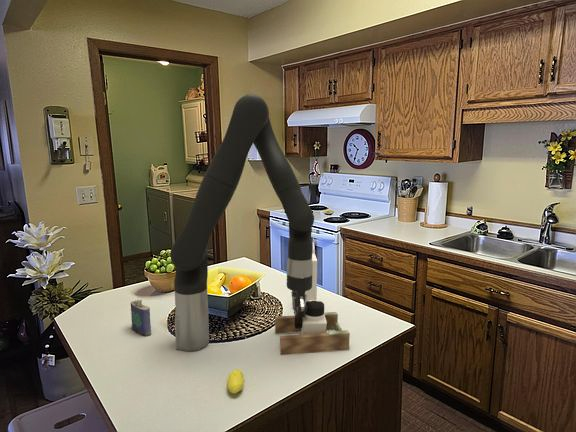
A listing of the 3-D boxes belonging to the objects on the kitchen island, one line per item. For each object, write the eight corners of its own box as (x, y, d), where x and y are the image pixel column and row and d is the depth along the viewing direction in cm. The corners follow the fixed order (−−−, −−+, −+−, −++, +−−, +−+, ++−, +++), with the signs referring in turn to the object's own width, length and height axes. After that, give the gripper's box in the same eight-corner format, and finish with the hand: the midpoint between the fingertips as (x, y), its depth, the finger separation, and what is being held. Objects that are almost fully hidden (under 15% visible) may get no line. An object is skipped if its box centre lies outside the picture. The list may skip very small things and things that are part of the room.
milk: (316, 311, 138) (318, 251, 134) (300, 313, 136) (301, 253, 132) (310, 304, 144) (312, 247, 139) (295, 306, 142) (296, 248, 138)
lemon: (246, 378, 99) (246, 364, 98) (241, 399, 91) (241, 384, 91) (230, 378, 99) (229, 364, 99) (224, 398, 92) (223, 383, 91)
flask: (153, 334, 121) (150, 302, 119) (144, 338, 119) (142, 305, 117) (137, 325, 127) (135, 294, 125) (129, 328, 125) (126, 297, 123)
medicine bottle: (326, 345, 115) (327, 307, 113) (302, 345, 115) (303, 307, 113) (323, 333, 122) (324, 297, 120) (300, 333, 122) (301, 297, 120)
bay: (280, 355, 110) (280, 337, 109) (275, 331, 123) (275, 315, 122) (349, 349, 113) (349, 332, 112) (335, 327, 126) (336, 311, 125)
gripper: (283, 265, 119) (282, 317, 123) (290, 280, 106) (289, 338, 110) (307, 264, 120) (306, 316, 124) (317, 279, 108) (315, 337, 111)
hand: (298, 327), depth 117 cm, fingers closed
